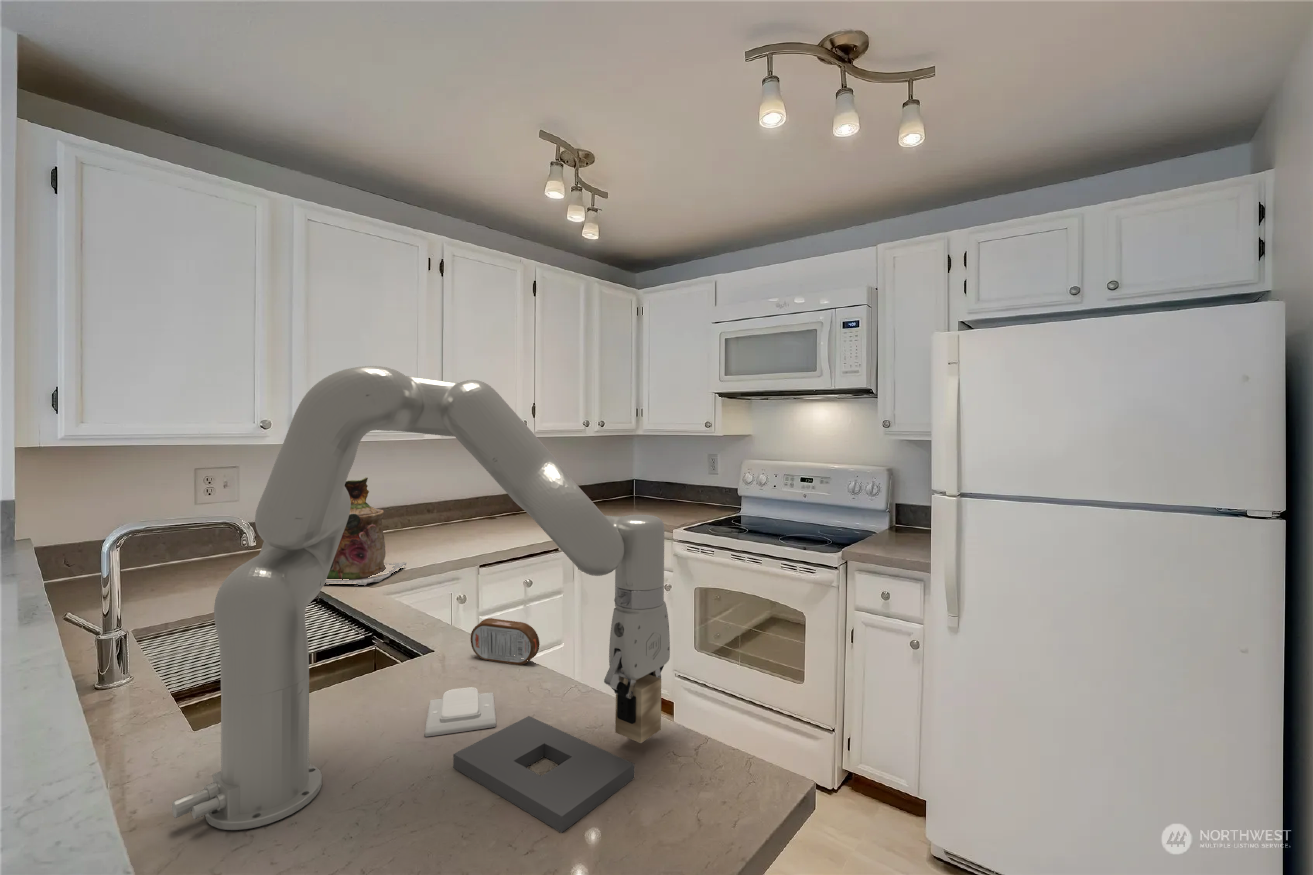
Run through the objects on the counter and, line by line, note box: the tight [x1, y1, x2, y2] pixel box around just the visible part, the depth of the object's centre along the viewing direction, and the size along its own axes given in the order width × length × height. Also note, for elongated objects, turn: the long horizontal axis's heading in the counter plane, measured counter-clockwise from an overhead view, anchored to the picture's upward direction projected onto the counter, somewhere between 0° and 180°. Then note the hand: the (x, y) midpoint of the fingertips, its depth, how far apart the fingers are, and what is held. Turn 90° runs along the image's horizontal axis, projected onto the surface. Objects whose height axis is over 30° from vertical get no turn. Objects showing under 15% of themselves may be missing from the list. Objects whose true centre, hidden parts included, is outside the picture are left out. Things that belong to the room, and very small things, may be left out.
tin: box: [470, 617, 541, 666], centre depth 122 cm, size 15×3×8 cm, turn 74°
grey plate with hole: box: [452, 715, 636, 834], centre depth 83 cm, size 14×22×2 cm, turn 53°
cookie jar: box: [325, 477, 407, 586], centre depth 188 cm, size 25×25×32 cm
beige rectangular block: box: [614, 674, 662, 744], centre depth 90 cm, size 5×5×8 cm
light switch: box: [424, 686, 497, 738], centre depth 99 cm, size 11×4×13 cm
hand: (638, 711), depth 90 cm, fingers closed on beige rectangular block, 5 cm apart
